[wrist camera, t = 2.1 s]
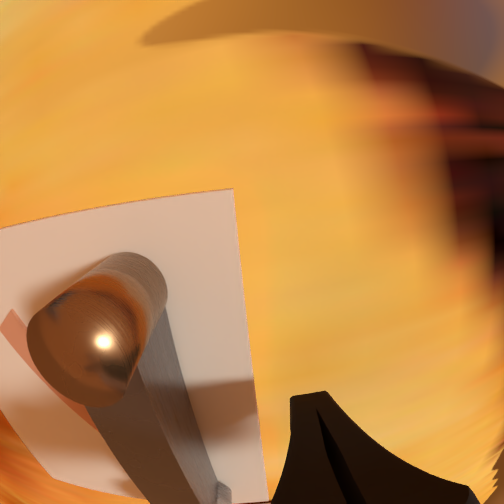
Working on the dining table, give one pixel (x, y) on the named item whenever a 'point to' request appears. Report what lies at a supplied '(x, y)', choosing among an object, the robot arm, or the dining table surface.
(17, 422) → the board
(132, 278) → the lever
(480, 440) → the dining table surface
